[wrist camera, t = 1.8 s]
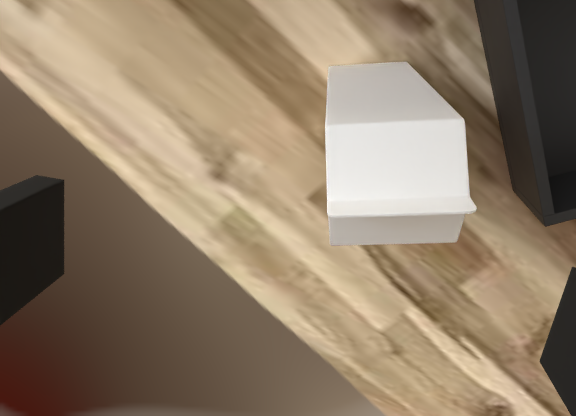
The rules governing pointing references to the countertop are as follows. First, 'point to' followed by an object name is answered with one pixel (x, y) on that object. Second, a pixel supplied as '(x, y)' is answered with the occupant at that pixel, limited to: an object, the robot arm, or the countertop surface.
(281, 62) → the countertop surface
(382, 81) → the milk
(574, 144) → the tray
